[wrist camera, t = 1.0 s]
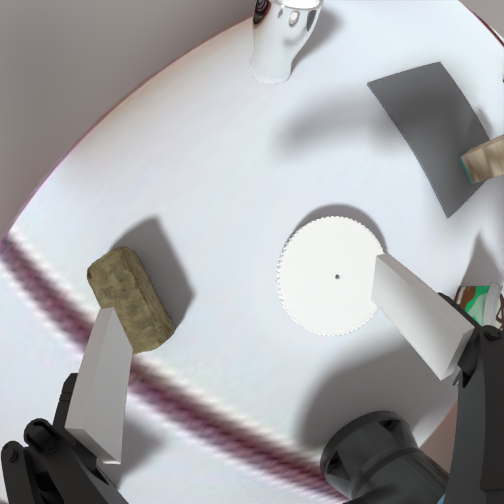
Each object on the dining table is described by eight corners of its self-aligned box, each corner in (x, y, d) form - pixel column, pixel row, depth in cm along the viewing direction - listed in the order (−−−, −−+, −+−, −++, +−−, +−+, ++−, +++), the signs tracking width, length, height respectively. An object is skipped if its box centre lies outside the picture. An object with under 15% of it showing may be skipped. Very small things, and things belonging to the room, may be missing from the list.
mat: (499, 164, 40) (501, 163, 39) (447, 217, 37) (449, 217, 36) (438, 62, 39) (439, 61, 38) (366, 84, 36) (368, 82, 36)
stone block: (134, 244, 32) (120, 242, 27) (180, 331, 32) (174, 343, 27) (96, 267, 31) (78, 268, 26) (140, 351, 32) (129, 365, 27)
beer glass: (287, 51, 35) (314, -20, 20) (298, 86, 35) (334, 14, 20) (241, 52, 34) (253, -25, 19) (248, 88, 34) (265, 9, 19)
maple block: (482, 173, 38) (528, 158, 26) (471, 184, 37) (521, 168, 25) (469, 149, 38) (515, 129, 26) (458, 158, 37) (507, 137, 25)
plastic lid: (379, 321, 35) (389, 325, 33) (278, 339, 34) (283, 345, 31) (372, 216, 36) (382, 213, 33) (269, 222, 34) (273, 219, 31)
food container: (437, 311, 36) (483, 321, 26) (455, 280, 37) (501, 283, 27) (465, 352, 37) (505, 366, 27) (481, 324, 38) (522, 333, 28)
